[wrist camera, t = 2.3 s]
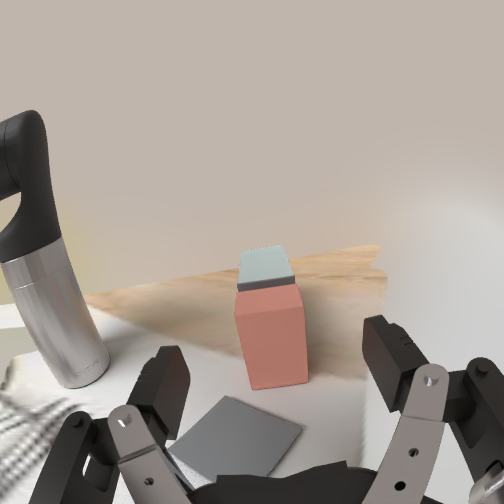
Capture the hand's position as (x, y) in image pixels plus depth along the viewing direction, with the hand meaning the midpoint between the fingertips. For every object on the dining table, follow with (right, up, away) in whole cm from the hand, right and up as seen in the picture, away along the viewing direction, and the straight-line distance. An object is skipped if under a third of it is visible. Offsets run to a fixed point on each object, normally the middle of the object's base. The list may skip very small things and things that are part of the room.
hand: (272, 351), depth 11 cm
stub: (+2, -8, +15) cm, 17 cm away
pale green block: (+2, -5, +23) cm, 24 cm away
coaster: (-2, -12, +7) cm, 14 cm away
